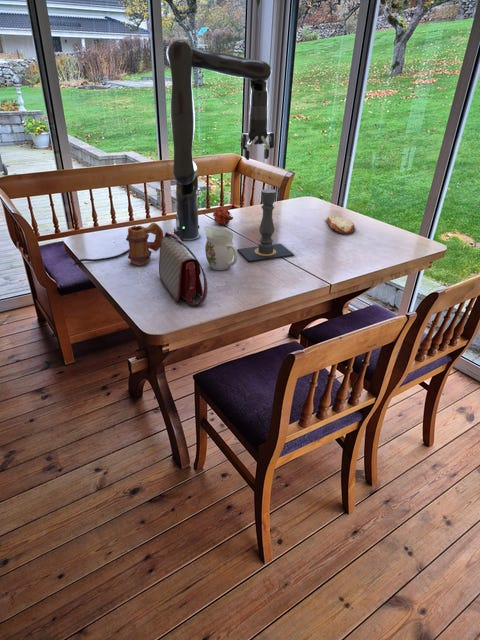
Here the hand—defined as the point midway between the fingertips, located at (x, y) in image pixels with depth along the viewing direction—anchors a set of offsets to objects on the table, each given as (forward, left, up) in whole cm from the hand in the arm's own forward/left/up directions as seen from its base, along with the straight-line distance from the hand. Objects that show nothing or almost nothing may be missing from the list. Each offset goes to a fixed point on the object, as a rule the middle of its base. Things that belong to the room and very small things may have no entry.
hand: (256, 159), depth 192 cm
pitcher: (-27, -31, -33) cm, 53 cm away
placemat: (-5, -24, -33) cm, 41 cm away
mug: (-53, -16, -33) cm, 65 cm away
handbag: (-46, -45, -33) cm, 72 cm away
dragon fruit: (-9, +18, -33) cm, 39 cm away
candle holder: (-5, -24, -32) cm, 40 cm away
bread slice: (+42, -5, -33) cm, 54 cm away
